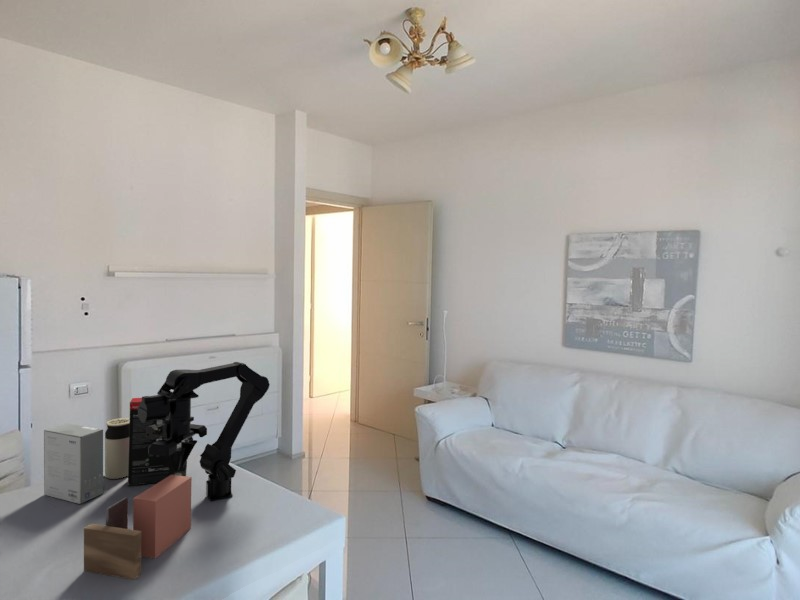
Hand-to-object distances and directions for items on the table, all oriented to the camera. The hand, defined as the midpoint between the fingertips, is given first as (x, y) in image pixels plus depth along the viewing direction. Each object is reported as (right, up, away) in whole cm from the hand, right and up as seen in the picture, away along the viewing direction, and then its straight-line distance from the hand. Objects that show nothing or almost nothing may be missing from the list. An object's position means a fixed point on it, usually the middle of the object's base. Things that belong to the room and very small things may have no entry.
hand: (179, 468), depth 137 cm
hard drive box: (-35, -11, +7) cm, 37 cm away
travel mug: (-30, -10, +22) cm, 39 cm away
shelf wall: (-2, -13, -28) cm, 32 cm away
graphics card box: (-16, -11, +19) cm, 27 cm away
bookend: (-5, -13, -24) cm, 28 cm away
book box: (+3, -13, -15) cm, 20 cm away
